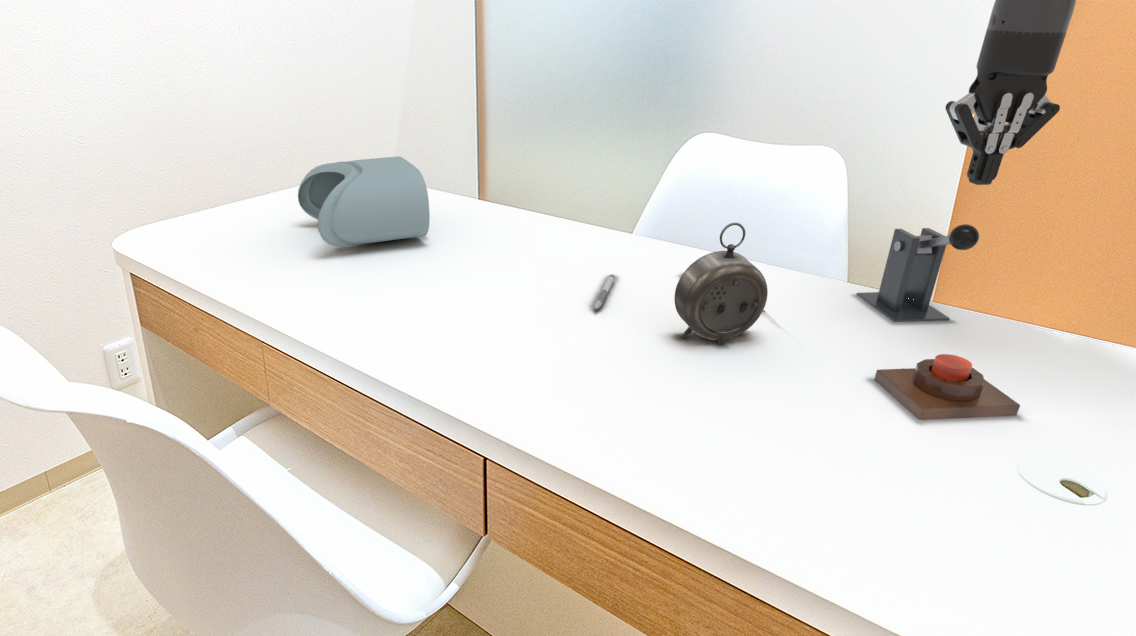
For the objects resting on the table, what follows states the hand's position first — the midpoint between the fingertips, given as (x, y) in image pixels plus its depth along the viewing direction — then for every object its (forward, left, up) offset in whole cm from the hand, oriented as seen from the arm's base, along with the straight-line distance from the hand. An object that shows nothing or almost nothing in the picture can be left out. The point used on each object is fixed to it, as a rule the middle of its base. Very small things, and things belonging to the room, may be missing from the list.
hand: (979, 183), depth 91 cm
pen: (+41, -17, -21) cm, 49 cm away
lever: (0, -3, -10) cm, 11 cm away
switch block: (+10, +17, -21) cm, 28 cm away
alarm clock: (+30, 0, -21) cm, 36 cm away
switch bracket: (0, -8, -21) cm, 22 cm away
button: (+10, +17, -17) cm, 26 cm away
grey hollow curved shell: (+79, -49, -21) cm, 95 cm away
